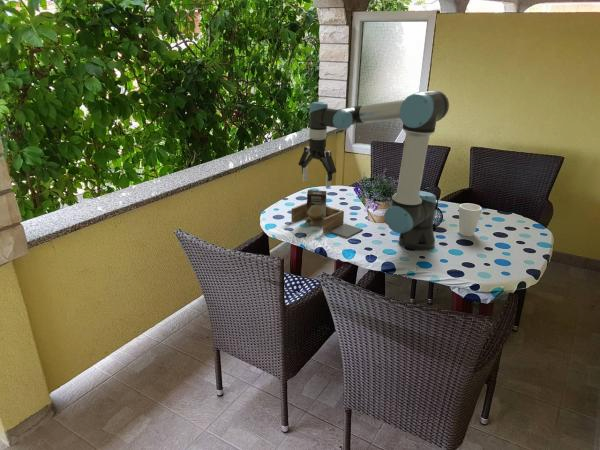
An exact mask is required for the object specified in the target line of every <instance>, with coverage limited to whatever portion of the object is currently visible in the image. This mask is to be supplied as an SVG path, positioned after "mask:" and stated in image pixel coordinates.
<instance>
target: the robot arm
mask: <svg viewBox="0 0 600 450" xmlns="http://www.w3.org/2000/svg"><path fill="white" fill-rule="evenodd" d="M309 106H310V108H309V139H308V140H309V142H308V146H305V147H303V152H302V154H301V157H300V159H299V162H298V166H301V174H302V182H303V183H304V182H307V181H309V180H308V179H309V178H308V176H309V172H308V171H309V166H308V165H309V164H310V162H311V161H312V160H313V159H314V160H318V161H320V162H321V164H322V166H323V167H324V169H325V171H326V174H325V189H328V188H331V184H332V182H331V181H333V174H335V173H337V169H336V166H335V163H334V160H333V157H332V151H331V150H328V151H327V150H326V147H327V139H326V138H327V132H328V131H327V130H328V129H327V128H328V127H329V128H334V129H339V130H347V129H349V128H350V127H351V126H354V125H359V124H368V123H369V124H370V123H378V122H388V121H396V120H397V121H399V120H401V122H402V130H403V131H404V133H405V137H404V143H403V144H404V145H403V150H402V155H401V156H402V157H401V164H400V168H399V169H400V171H399V176H398V182H397V183H398V184H397V189H396V193H394V194H393V195H392V196H391V203H390V206H389V207H388V208H387V209H386V210H385V211H384V221H385V224H386V225H387V226H388V228H389V229H390V230H391V231H393V232H395V233H398V234H399V236H398V244H400V245H401V246H402V247H404V248H407V249H410V250H415V251H427V250H431V249H433V248H434V247H435V244H436V243H435V242H436V238H435V235H434V230H433V227H434V218H435V213H436V212H435V211H436V207H437V206H436V204H437V197H436V195H435V194H434V193H431V192H428V191H425V190H424V191H423V190H421V185H422V180H423V176H424V175H423V174H424V169H425V163H426V159H427V158H426V157H427V151H428V147H429V141H430V136H431V135H433V134H435V130H436V126H437V122H438V121H439V122H440V121H441V120H443V119H444V118H445V117H446V115H447V114H448V112H449V109H450V101H449V99H448V97H447V95H446V94H445V93H443V92H442V91H439V90H433V89H432V90H428V91H427V90H426V91H418V92H414V93H412V94H410V95H408V96H407V97H406V98H404V99H401V100H394V101H393V100H392V101H385V102H378V103H370V104H364V105H356V106H351V107H345V108H338V109H335V108H329V106H328V103H327V102H324V101H313V102H311V103H310V105H309Z"/></svg>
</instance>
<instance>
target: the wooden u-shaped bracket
mask: <svg viewBox="0 0 600 450" xmlns="http://www.w3.org/2000/svg"><path fill="white" fill-rule="evenodd" d="M306 213H307V202H305V203H303V204H300V205H297V206H295V207H292V208H291V217H290V218H291V219H290V220H291V222H290V223H292V224H294V223H297V222H299V221H302V220H304V219H306ZM344 214H345V211H344V210H341V209H337V208H335V207H332V206H329V205H326V216H325V218H324V219H323V227H322V234H327V233H330V231H331V230H333V229H335V228H337V227H339V226H341V225H343V224H344V219H345V217H344V216H345V215H344Z"/></svg>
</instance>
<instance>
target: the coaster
mask: <svg viewBox="0 0 600 450" xmlns="http://www.w3.org/2000/svg"><path fill="white" fill-rule="evenodd" d="M363 229H364V228H361V227H357V226H355V225H352V224H348V223H343V225H341V226H339V227H337V228H335V229H333V230H331V231H329V233H330V234H332V235H335V236H339V237H341V238H345V239H350V238H351V237H353V236H355V235H358V234H359V233H362V232H363Z"/></svg>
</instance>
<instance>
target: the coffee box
mask: <svg viewBox="0 0 600 450" xmlns="http://www.w3.org/2000/svg"><path fill="white" fill-rule="evenodd" d="M306 193H307V194H306V203H307V213H306V218H305V219H306V221H305V226H306V227H316V228H317V227H320V228H323V219H324V218H325V216H326V206H327V190H316V189H315V190H313V189H308V190H307V192H306Z"/></svg>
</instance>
